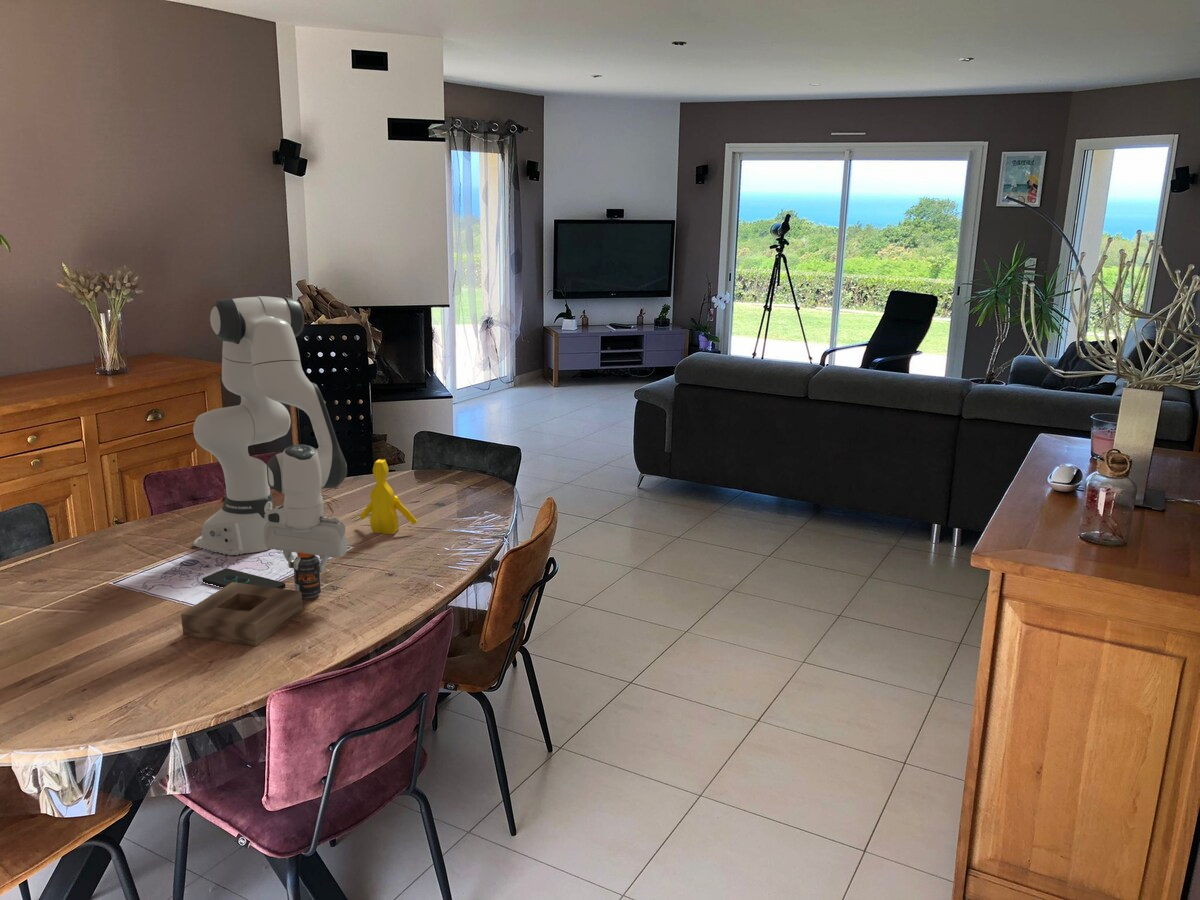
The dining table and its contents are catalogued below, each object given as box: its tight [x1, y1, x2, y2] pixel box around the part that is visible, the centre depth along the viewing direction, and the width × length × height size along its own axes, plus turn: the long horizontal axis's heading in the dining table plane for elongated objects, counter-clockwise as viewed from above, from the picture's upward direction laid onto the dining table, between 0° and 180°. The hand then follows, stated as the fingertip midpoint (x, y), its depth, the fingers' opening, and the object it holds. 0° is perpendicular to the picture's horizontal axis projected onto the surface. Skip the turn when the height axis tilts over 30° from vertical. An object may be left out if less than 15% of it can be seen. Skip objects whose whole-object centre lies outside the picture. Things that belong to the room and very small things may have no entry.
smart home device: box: [201, 567, 286, 589], centre depth 226 cm, size 8×2×20 cm
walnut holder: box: [180, 582, 303, 647], centre depth 205 cm, size 18×18×5 cm
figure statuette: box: [359, 459, 418, 535], centre depth 261 cm, size 18×8×22 cm, turn 78°
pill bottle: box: [293, 552, 322, 599], centre depth 219 cm, size 6×6×11 cm
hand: (307, 569), depth 219 cm, fingers closed on pill bottle, 6 cm apart
